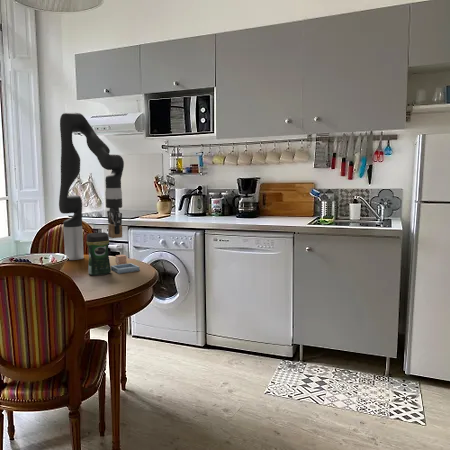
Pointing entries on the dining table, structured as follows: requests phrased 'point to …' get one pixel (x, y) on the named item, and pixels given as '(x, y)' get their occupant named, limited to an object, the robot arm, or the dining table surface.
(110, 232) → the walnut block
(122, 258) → the terracotta cube
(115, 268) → the blue grey tray
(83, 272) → the dining table surface
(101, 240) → the coffee jar
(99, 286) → the dining table surface
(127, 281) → the dining table surface
